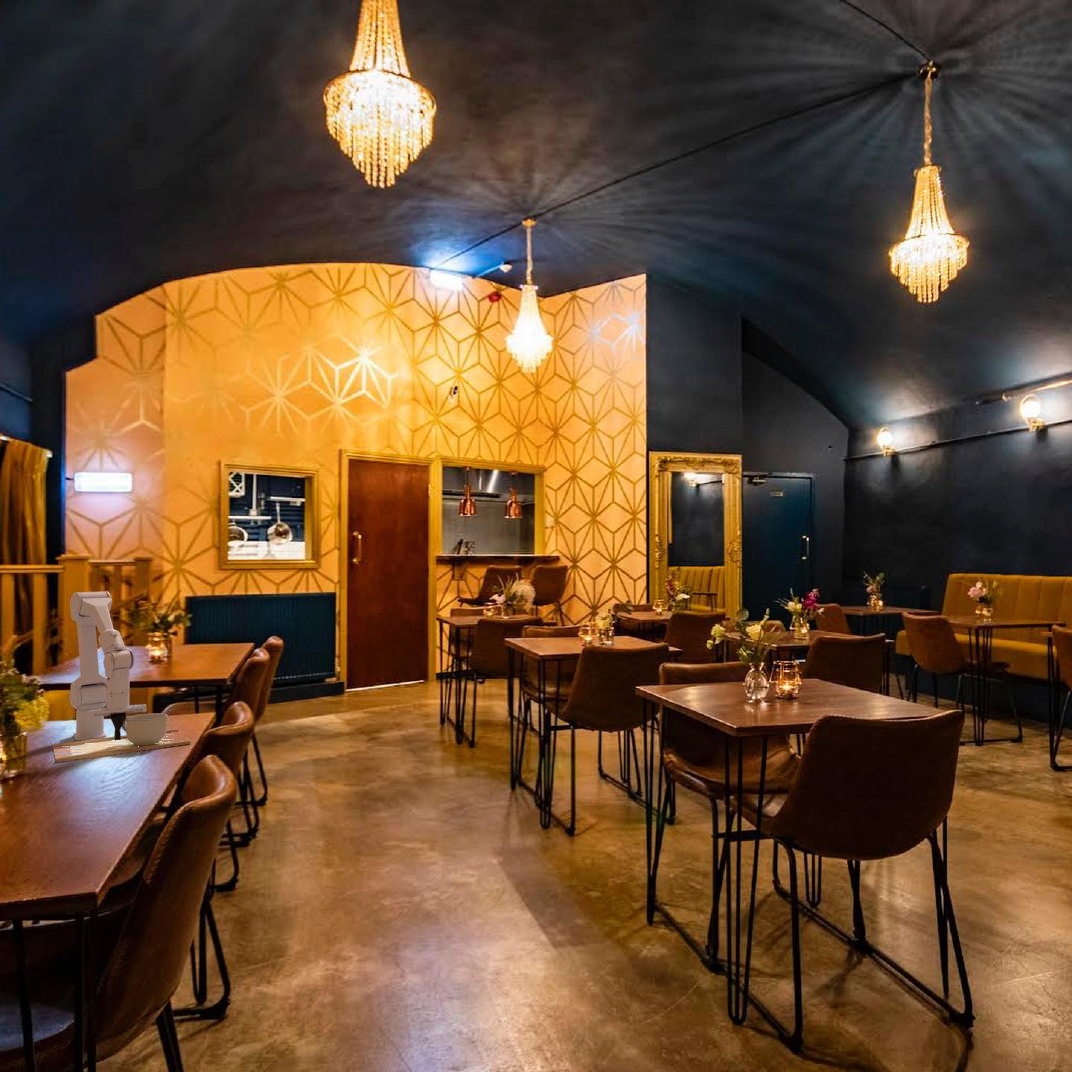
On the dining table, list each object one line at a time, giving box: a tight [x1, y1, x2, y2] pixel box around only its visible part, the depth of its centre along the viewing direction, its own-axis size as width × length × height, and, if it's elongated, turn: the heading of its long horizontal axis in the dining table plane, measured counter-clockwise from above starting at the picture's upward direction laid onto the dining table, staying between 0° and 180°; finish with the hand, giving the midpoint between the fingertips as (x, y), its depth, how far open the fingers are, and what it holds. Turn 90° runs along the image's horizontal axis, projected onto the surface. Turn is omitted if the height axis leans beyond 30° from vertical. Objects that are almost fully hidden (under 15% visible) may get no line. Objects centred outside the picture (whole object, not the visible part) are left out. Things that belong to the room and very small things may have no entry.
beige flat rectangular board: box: [51, 728, 191, 763], centre depth 217 cm, size 19×33×1 cm, turn 126°
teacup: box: [121, 712, 168, 745], centre depth 218 cm, size 14×11×8 cm
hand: (117, 739), depth 216 cm, fingers closed
